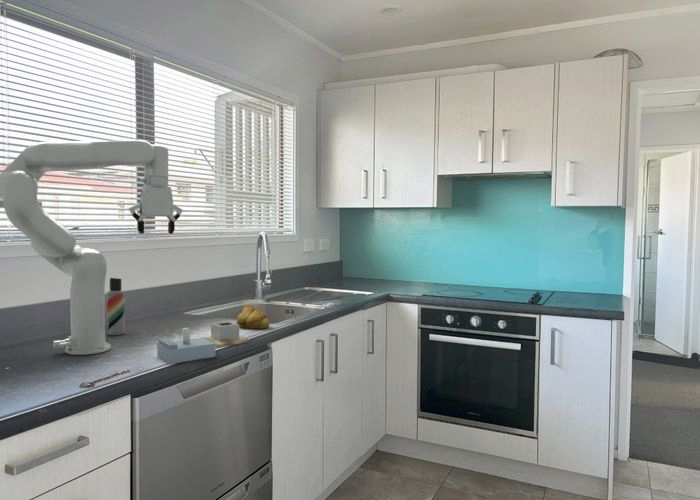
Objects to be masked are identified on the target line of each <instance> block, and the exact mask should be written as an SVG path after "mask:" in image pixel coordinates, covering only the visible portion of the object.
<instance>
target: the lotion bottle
mask: <svg viewBox="0 0 700 500" xmlns="http://www.w3.org/2000/svg"><path fill="white" fill-rule="evenodd" d="M125 310H126V309H125V290H122V278H117V277H110V278H109V290H108V291H106V318H107V319H106V325H107V326H106V328H107V332H106V333H107V335H109V336H119V335H124V334H125V331H126V327H125V326H126V319H125V316H126V315H125V312H126V311H125Z"/></svg>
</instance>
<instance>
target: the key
mask: <svg viewBox="0 0 700 500" xmlns="http://www.w3.org/2000/svg"><path fill="white" fill-rule="evenodd" d="M122 371H123V372H121V373H116V372H115V373H116V374H114V375H109V376H105V377H103V378H99V379H97V380H94V381H89V382H87V383H89V384H90V385H88V384H84V383H85V382H83V383H81V384H83V385H81V384H79V385H80V386H81V387H80V388H82V387H88V388H91V387H90V386H92V387H94V386H95V384H97V383H96V382H98V383H100V382H99V381H101V382H103V381H102V380H104V381H107V380H110V379H112V378H111V377H113V378H115V377H114V376H116V377H118V376H117V375H119V374H122V375H124V374H123V373H125V374H127V373H126V372H128V373H130V372H131V370H130V369H127V370H122ZM119 376H120V375H119ZM109 378H110V379H109ZM106 379H107V380H106ZM94 383H95V384H94Z"/></svg>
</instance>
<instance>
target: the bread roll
mask: <svg viewBox="0 0 700 500" xmlns="http://www.w3.org/2000/svg"><path fill="white" fill-rule="evenodd" d="M236 324H239V328H246V329H249V330H250V329H251V330H254V329H266V328H268V327H269V326H270V320H269V319H268V318H267V314H266V313H265V312H264V311H263V310H261V309H256V308H255V307H254V306H252V305H250V304H248V305H245V306H244V307H243V309H242V312H241V313H239V314H238V316H237V318H236Z"/></svg>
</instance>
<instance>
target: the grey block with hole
mask: <svg viewBox="0 0 700 500" xmlns="http://www.w3.org/2000/svg"><path fill="white" fill-rule="evenodd" d="M239 336H240V327H239V324H237V322H236V323H235V322H233V321H230V320H228V321H221V322H213V323H210V337H211V338H212V339H214V340H216V341H219V342H224V341H231V340H238V339H239Z"/></svg>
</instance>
